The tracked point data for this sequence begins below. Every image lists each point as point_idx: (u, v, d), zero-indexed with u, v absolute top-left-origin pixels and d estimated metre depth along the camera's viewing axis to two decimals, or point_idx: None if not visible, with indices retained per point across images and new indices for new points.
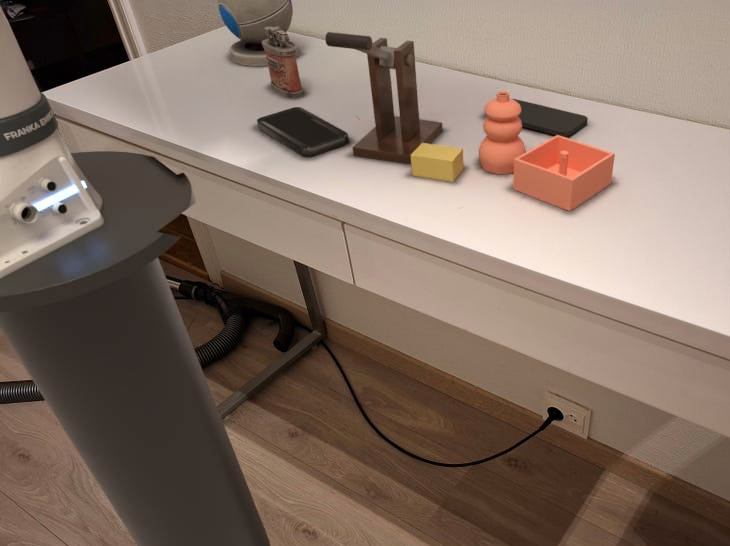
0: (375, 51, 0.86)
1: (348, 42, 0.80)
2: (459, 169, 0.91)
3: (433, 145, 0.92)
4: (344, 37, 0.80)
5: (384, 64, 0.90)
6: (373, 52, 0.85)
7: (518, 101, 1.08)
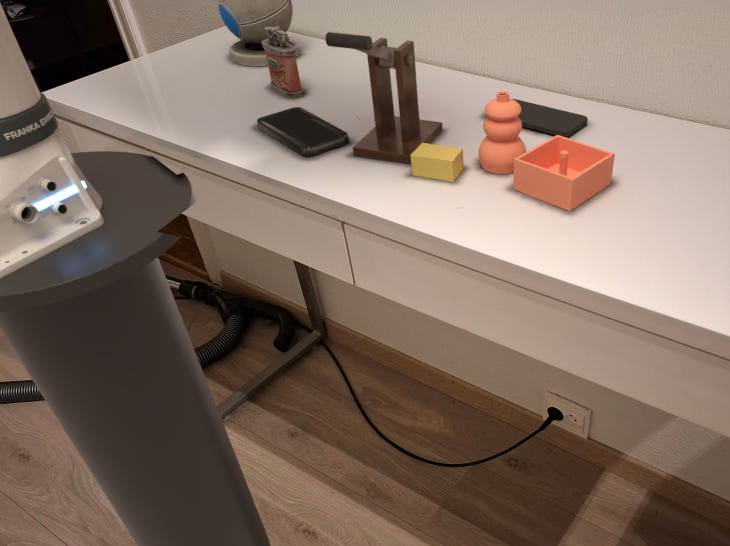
0: (375, 51, 0.86)
1: (348, 42, 0.80)
2: (459, 169, 0.91)
3: (433, 145, 0.92)
4: (344, 37, 0.80)
5: (384, 64, 0.90)
6: (373, 52, 0.85)
7: (518, 101, 1.08)
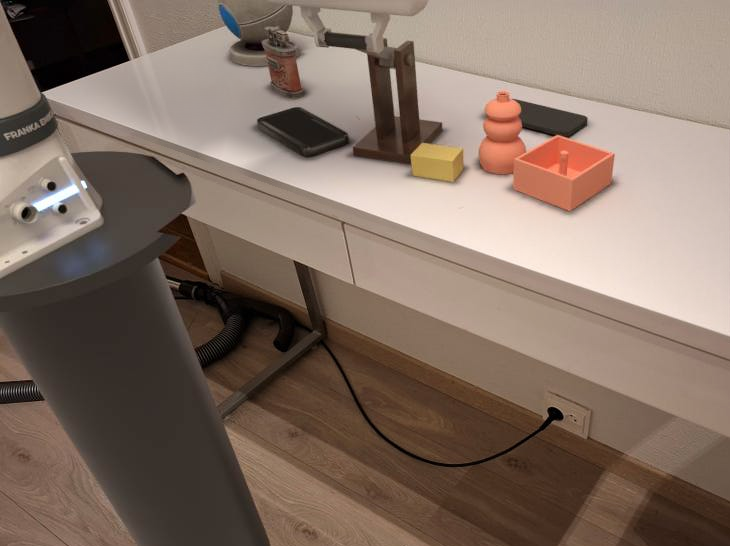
0: None
1: (348, 42, 0.80)
2: (459, 169, 0.91)
3: (433, 145, 0.92)
4: (344, 37, 0.80)
5: (384, 64, 0.90)
6: None
7: (518, 101, 1.08)
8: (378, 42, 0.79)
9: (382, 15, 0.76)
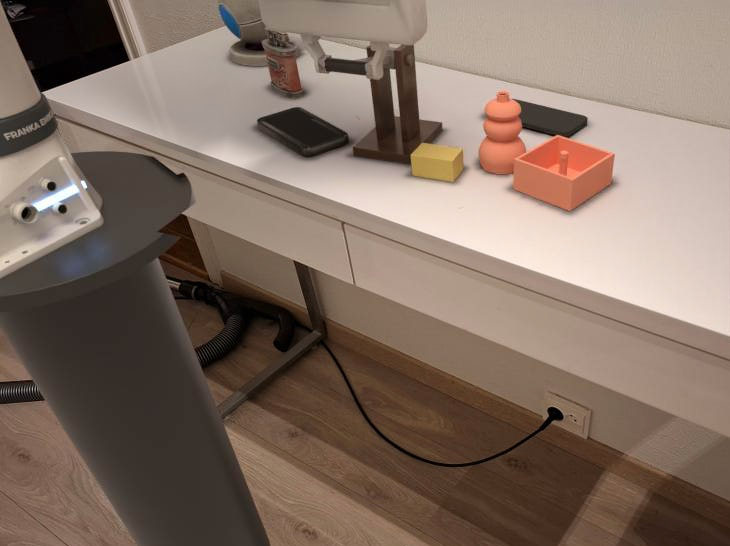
0: None
1: (348, 69, 0.81)
2: (459, 169, 0.91)
3: (433, 145, 0.92)
4: (343, 64, 0.81)
5: (385, 67, 0.91)
6: None
7: (518, 101, 1.08)
8: (378, 69, 0.80)
9: (381, 43, 0.77)
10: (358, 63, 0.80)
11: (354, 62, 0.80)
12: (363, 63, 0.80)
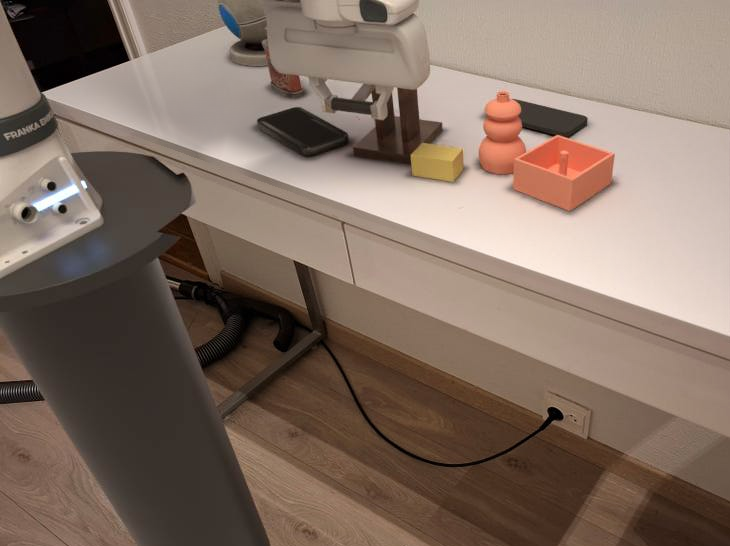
0: None
1: (353, 111, 0.84)
2: (459, 169, 0.91)
3: (433, 145, 0.92)
4: (348, 107, 0.84)
5: None
6: None
7: (518, 101, 1.08)
8: (382, 110, 0.83)
9: (386, 87, 0.81)
10: (362, 105, 0.83)
11: (358, 104, 0.84)
12: (367, 105, 0.83)
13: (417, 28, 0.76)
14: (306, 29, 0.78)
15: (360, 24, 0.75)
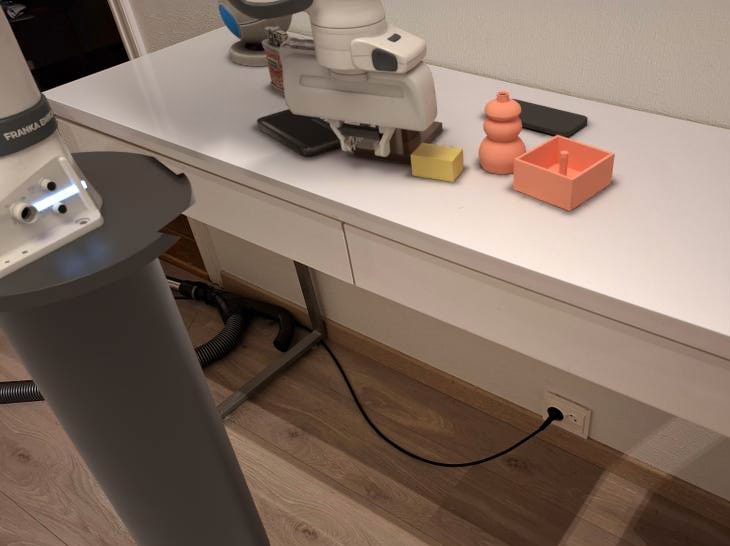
0: None
1: (363, 137, 0.88)
2: (459, 169, 0.91)
3: (433, 145, 0.92)
4: (358, 134, 0.88)
5: None
6: None
7: (518, 101, 1.08)
8: (385, 148, 0.88)
9: (389, 127, 0.86)
10: (371, 133, 0.87)
11: (367, 132, 0.87)
12: (375, 134, 0.87)
13: (425, 75, 0.81)
14: (320, 75, 0.83)
15: (372, 72, 0.79)
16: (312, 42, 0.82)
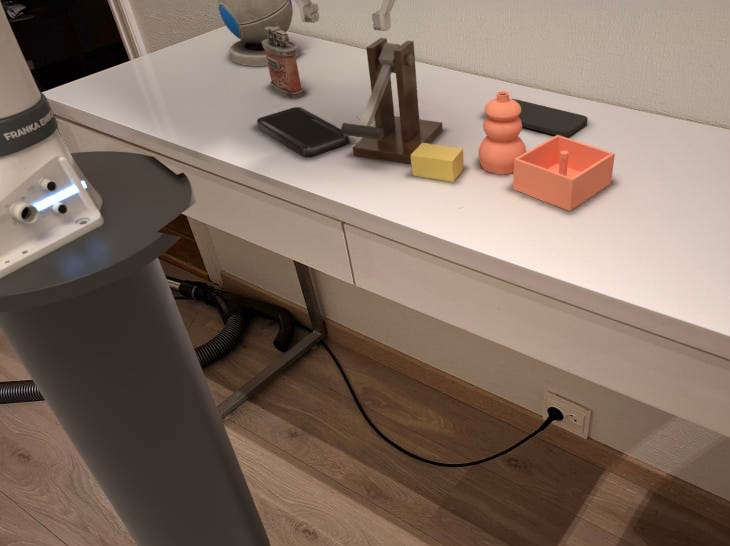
0: (381, 95, 0.90)
1: (363, 137, 0.88)
2: (459, 169, 0.91)
3: (433, 145, 0.92)
4: (358, 134, 0.88)
5: None
6: (380, 99, 0.90)
7: (518, 101, 1.08)
8: (385, 19, 0.77)
9: None
10: (371, 133, 0.87)
11: (367, 132, 0.87)
12: (375, 133, 0.87)
13: None
14: None
15: None
16: None
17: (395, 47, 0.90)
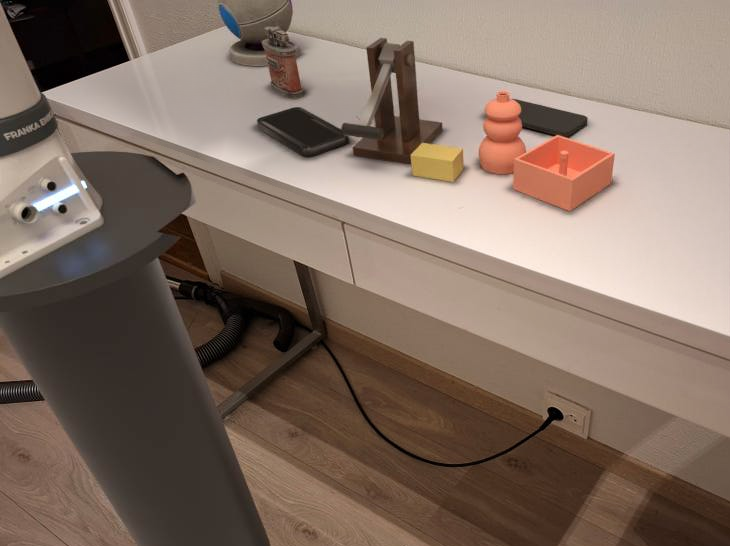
0: (381, 95, 0.90)
1: (363, 137, 0.88)
2: (459, 169, 0.91)
3: (433, 145, 0.92)
4: (358, 134, 0.88)
5: None
6: (380, 99, 0.90)
7: (518, 101, 1.08)
8: None
9: None
10: (371, 133, 0.87)
11: (367, 132, 0.87)
12: (375, 133, 0.87)
13: None
14: None
15: None
16: None
17: (395, 47, 0.90)
